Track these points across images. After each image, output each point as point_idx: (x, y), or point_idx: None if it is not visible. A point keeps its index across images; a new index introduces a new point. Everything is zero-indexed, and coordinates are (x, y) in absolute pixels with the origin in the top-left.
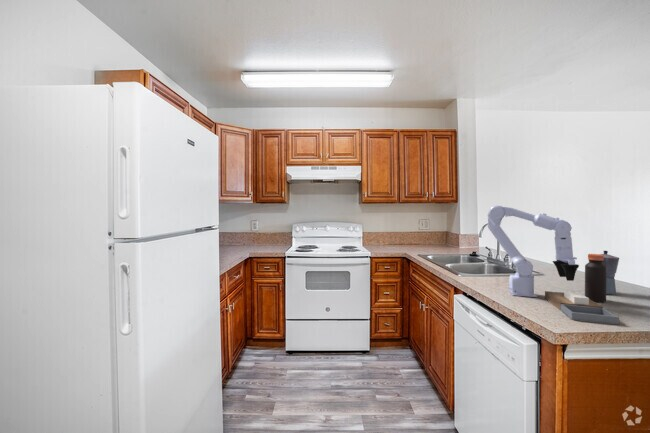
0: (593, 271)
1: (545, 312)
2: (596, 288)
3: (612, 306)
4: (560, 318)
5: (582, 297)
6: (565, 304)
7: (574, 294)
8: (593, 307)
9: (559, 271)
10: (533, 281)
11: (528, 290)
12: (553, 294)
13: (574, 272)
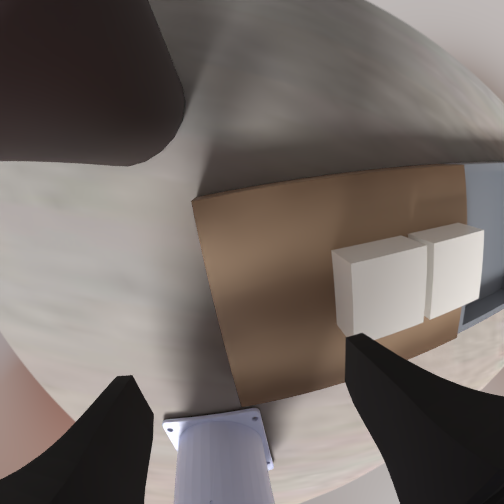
0: (88, 15)
1: (458, 359)
2: (167, 82)
3: (247, 52)
4: (494, 318)
5: (477, 260)
6: (456, 317)
7: (436, 293)
8: (470, 208)
9: (140, 466)
10: (243, 485)
11: (264, 455)
12: (311, 372)
13: (444, 389)
